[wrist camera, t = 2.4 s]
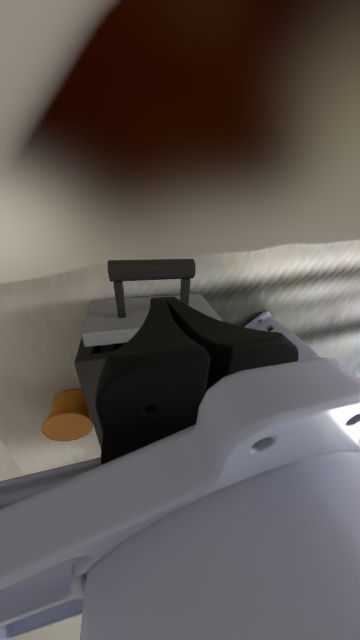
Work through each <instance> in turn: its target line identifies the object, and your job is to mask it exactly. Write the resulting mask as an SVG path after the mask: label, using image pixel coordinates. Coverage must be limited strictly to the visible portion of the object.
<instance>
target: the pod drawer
mask: <svg viewBox="0 0 360 640" xmlns="http://www.w3.org/2000/svg"><path fill="white" fill-rule="evenodd" d="M108 273H109V279H110V281H111V282H112V281H114V290H115V298H116V299H107V300H92V301H91V303H90V306H89V309H88V313H87V316H86V320H85V323H84V326H83V330H82V333H81V335H82V339H83V343H84V346H85V347H91V346H100V352H99V353H102V352H111V351H115V350H117V349H118V348H120V347H121V346H123V345H124V344H125V343H127V342H128V341H129V340H130V339H131V338H132V337H133V336H134V335H135V334H136V333H137V331H138V330H139V329H140V328H141V326H142V325H143V323H144V321H145V319H146V317H147V315H148V312H149V309H150V299H151V298H156V297H171V296H156V297H140V298H124V290H123V281H136V280H160V279H181V293H180V295H172V296H173V297H175V298H177V299H179V300H180V301H182V302H184V303H185V304H187V305H189V306H190V307H192V308H194V309H195V310H197V311H199V312H201V313H203V314H205V315H207V316H210V317H212V318H215V319H217V320H220V321H222V319H221V318H220V317H219V315H218V314H217V313H216V312H215V311H214V309H213V308H212V307H211V306H210V304H209V303H208V302H207V301H206V300H205V298H204V297H203V296H202V295H201V294H189V291H190V278H194V276H195V262H194V260H193V259H162V260H114V261H113V260H109V261H108Z"/></svg>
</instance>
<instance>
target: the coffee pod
mask: <svg viewBox="0 0 360 640" xmlns="http://www.w3.org/2000/svg"><path fill="white" fill-rule="evenodd" d="M92 427H93V421H92V419H91V415H90V411H89V408H88V405H87V402H86V399H85V395H84V392H83V391H81V390H68V391H65V392H62V393H60V394H59V395H57V396H56V398H55V399H54V402H53V405H52V408H51V411H50V414H49V417H48V418H47V419H46V420H45V421H44V422H43V425H42V428H41V430H42V433H43V434H44V436H46V437H47V438H49V439H52V440H55V441H72V440H76V439H79V438H82V437H84V436H85V435H87V434H88V433H89V432H90V431H91V429H92Z"/></svg>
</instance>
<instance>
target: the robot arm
mask: <svg viewBox="0 0 360 640" xmlns="http://www.w3.org/2000/svg"><path fill="white" fill-rule="evenodd" d="M259 319H260V320H259ZM258 320H259V321H258ZM95 404H96V411H97V415H98V418H99V422H100V426H101V429H102V433H103V438H102V451H101V458H97V459H92V460H88V461H84V462H80V463H75V464H71V465H67V466H63V467H58V468H54V469H50V470H46V471H42V472H37V473H33V474H29V475H25V476H21V477H16V478H12V479H8V480H4V481H0V640H10V639H12V638H15V637H18V636H21V635H24V634H27V633H30V632H33V631H35V630H38V629H41V628H44V627H47V626H50V625H53V624H56V623H58V622H61V621H64V620H67V619H70V618H73V617H76V616H79V615H81V614H82V624H81V634H80V640H360V378H359V377H358V376H356V375H355V374H354V373H353V372H351V371H350V370H349V369H347V368H346V367H345V366H343V365H342V364H341V363H339V362H338V361H337V360H335V359H329V358H320V357H319V356H318V355H317V354H316V353H315V352H314V351H313V350H312V349H311V348H310V347H309V346H308V345H307V344H306V343H304V342H303V341H302V340H301V339H299V338H298V337H297V336H296V335H294V334H293V333H292V332H290V331H289V330H288V329H287V328H285V327H284V326H283V325H282V324H280V323H279V322H278V321H277V320H275V319H274V318H273V317H271V315H270V313H269V312H268V311H265V312H263V313H262V314H260V315H259V316H258V317H256V318H255V319H254V320H252V321H251V322H250V323H248V324H247V325H246V326H244V327H241V326H236V325H233V324H229V323H226V322H223V321H220V320H217V319H215V318H212V317H210V316H207V315H205V314H203V313H201V312H199V311H197V310H195V309H194V308H192V307H190V306H189V305H187V304H185V303H184V302H182V301H180V300H179V299H177V298H175V297H173V296H171V297H156V298H151V299H150V309H149V312H148V315H147V317H146V319H145V321H144V323H143V325H142V326H141V328H140V329H139V330H138V331H137V333H136V334H135V335H134V336H133V337H132V338H131V339H130V340H129V341H128V342H127V343H125V344H124V345H123V346H121V347H120V348H118V349H117V350H115V351H113V352H112V353H110V354H109V355H108V356H107V358H106V361H105V363H104V365H103V368H102V371H101V374H100V377H99V381H98V385H97V391H96V399H95Z"/></svg>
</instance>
